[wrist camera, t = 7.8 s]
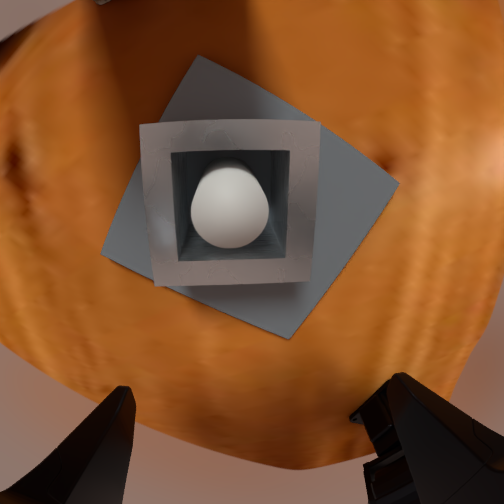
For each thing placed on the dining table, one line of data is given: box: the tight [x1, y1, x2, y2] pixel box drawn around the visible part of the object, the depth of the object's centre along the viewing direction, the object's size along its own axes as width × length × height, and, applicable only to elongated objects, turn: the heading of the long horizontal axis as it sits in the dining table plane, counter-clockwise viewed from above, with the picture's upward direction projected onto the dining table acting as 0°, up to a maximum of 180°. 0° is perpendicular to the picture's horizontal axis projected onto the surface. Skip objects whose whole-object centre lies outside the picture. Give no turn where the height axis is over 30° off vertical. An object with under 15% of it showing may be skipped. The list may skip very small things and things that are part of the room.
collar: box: [139, 119, 321, 286], centre depth 15 cm, size 7×7×5 cm
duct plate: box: [100, 55, 400, 339], centre depth 16 cm, size 14×13×6 cm
